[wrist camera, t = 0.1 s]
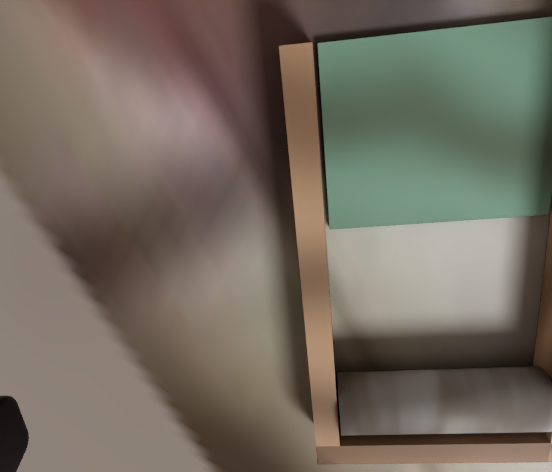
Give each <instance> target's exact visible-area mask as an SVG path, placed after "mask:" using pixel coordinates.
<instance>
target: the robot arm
mask: <svg viewBox="0 0 552 472" xmlns="http://www.w3.org/2000/svg"><path fill="white" fill-rule="evenodd" d="M28 439H29V436H28V430H27V428H26V425H25V423H24V420H23V417H22V414H21V412H20V409H19V406H18V404H17V402H16V400H15V399H14V398H13V397H10V396H0V472H16V471H17V469H18V466H19V464H20V462H21V460H22V458H23V455H24V453H25V451H26V448H27V445H28Z"/></svg>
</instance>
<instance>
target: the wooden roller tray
mask: <svg viewBox="0 0 552 472" xmlns="http://www.w3.org/2000/svg"><path fill="white" fill-rule="evenodd" d="M279 54H280V64H281V75H282V86H283V97H284V108H285V118H286V129H287V140H288V151H289V161H290V172H291V183H292V194H293V204H294V215H295V226H296V237H297V248H298V258H299V269H300V280H301V291H302V301H303V312H304V323H305V334H306V345H307V355H308V366H309V377H310V388H311V398H312V409H313V420H314V431H315V442H316V452H317V463H318V464H406V463H507V462H552V205H551V213H550V222H549V231H548V239H547V248H546V257H545V266H544V274H543V283H542V292H541V300H540V309H539V318H538V326H537V335H536V344H535V352H534V361H533V366H527V367H496V368H465V369H434V370H403V371H372V372H340V373H337V380H338V395H339V411H338V407H337V393H336V378H335V363H334V349H333V334H332V320H331V305H330V290H329V276H328V261H327V247H326V232H325V218H324V203H323V188H322V174H321V159H320V145H319V130H318V115H317V101H316V86H315V72H314V57H313V44H312V42H309V43H300V44H291V45H282V46H279ZM318 59H319V74H320V89H321V105H322V120H323V136H324V151H325V166H326V182H327V197H328V212H329V228H330V229H344V228H359V227H374V226H389V225H403V224H418V223H433V222H448V221H463V220H478V219H493V218H508V217H522V216H537V215H549V211H550V202H551V193H552V17H545V18H536V19H527V20H518V21H510V22H501V23H492V24H483V25H474V26H465V27H456V28H448V29H439V30H430V31H421V32H412V33H403V34H395V35H386V36H377V37H368V38H359V39H350V40H342V41H333V42H324V43H318Z"/></svg>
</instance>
